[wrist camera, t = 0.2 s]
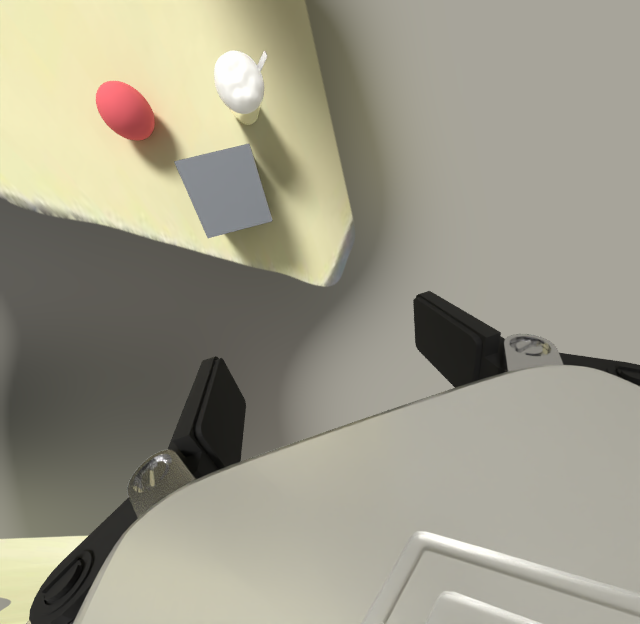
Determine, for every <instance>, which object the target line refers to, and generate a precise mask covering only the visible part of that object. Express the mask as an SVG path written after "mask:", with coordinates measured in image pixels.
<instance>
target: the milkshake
mask: <svg viewBox="0 0 640 624" xmlns="http://www.w3.org/2000/svg"><path fill="white" fill-rule="evenodd" d="M266 59H267V54H266V52H265V50H264V52H263V54H262V56H261V58H260V61H259V63H258V65H256V63H255V62H254V61H253V59H252V58H251V57H249V56H248V55H247V54H245V53H243V52H240V51H229V52H226V53H225V54H223V55H222V56H221V57H220V58H219V59H218V60H217V62H216V65H215V69H214V78H215V86H216V89H217V92H218V94H219V96H220V98H221V99H222V101H223V102H224V103H225V105H226V106H227V107H228V108H229V109H230V110H231V112H232V113H233V115H234V116H235V117H236V118H237V119H238V120H239V121H240V122H241V123H242V124H248V125H251V124H252V123H254V122H255V121H257V118H258V114H259V111H260V106H261V102H262V99H263V95H264V81H263V77H262V74H261V69H262V67H263V65H264V63H265V61H266Z"/></svg>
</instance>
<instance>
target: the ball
mask: <svg viewBox="0 0 640 624" xmlns="http://www.w3.org/2000/svg"><path fill="white" fill-rule="evenodd" d="M96 104H97V108H98V111H99V113H100V115H101V117H102V119H103V120H104V121H105V123H106V124H107V125H108V126H109V127H110V128H111V129H112V130H113V131H114V132H116V133H117V134H119V135H120V136H122V137H124V138H127V139H130V140H144V139H146V138H148V137H149V136H150V135H151V134H152V132H153V130H154V125H155V120H154V115H153V112H152V109H151V107H150V105H149V104H148V102H147V101H146V99H145V98H144V97H143V96H142V95H141V94H140V93H139V92H138V91H137V90H136V89H134V88H133V87H131V86H130V85H128V84H125V83H123V82H119V81H108V82H105V83H103V84H102V85H101V86H100V87H99V89H98V91H97V93H96Z"/></svg>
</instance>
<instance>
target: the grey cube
mask: <svg viewBox="0 0 640 624" xmlns="http://www.w3.org/2000/svg"><path fill="white" fill-rule="evenodd" d="M174 163H175V165H176V167H177V169H178V172H179V174H180V176H181V178H182V181H183V183H184V185H185V187H186V190H187V192H188V194H189V197H190V199H191V201H192V203H193V206H194V208H195V210H196V212H197V215H198V217H199V219H200V221H201V224H202V226H203V228H204V231H205V233H206V235H207V237H208V238H211V237H215V236H218V235H222V234H226V233H230V232H233V231H237V230H241V229H245V228H248V227H252V226H256V225H260V224H263V223H267V222H271V221H272V216H271V213H270V209H269V206H268V203H267V200H266V196H265V193H264V190H263V186H262V183H261V180H260V176H259V173H258V170H257V166H256V163H255V160H254V156H253V153H252V150H251V147H250V145H249V144H245V145H241V146H237V147H233V148H228V149H224V150H220V151H216V152H212V153H208V154H203V155H199V156H195V157H191V158H187V159H182V160H178V161H174Z"/></svg>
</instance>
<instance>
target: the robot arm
mask: <svg viewBox="0 0 640 624" xmlns="http://www.w3.org/2000/svg"><path fill="white" fill-rule="evenodd" d="M414 323H415V343H416V347H417V349H418V350H419V351H420V352H421V353H422V354H423V355H424V356H425V357H426V358H427V359H428V360H429V361H430V363H432V365H433V366H434V367H436V369H437V370H438V371H439V372H440V373H441V374H442V375H443V376H444V377H445V378H446V379H447V380H448V381H449V382H450V383H451V384H452V385H453V386H454V387H455V388H453V389H450V390H448V391H445V392H441V393H438V394H436V395H432V396H429V397H427V398H424V399H421V400H417V401H415V402H412V403H409V404H405V405H403V406H400V407H397V408H394V409H391V410H388V411H385V412H382V413H379V414H376V415H373V416H370V417H367V418H364V419H361V420H358V421H355V422H352V423H350V424H347V425H344V426H341V427H338V428H335V429H332V430H329V431H326V432H323V433H320V434H318V435H315V436H312V437H309V438H306V439H303V440H300V441H297V442H295V443H292V444H289V445H286V446H283V447H280V448H277V449H275V450H272V451H269V452H266V453H263V454H260V455H258V456H255V457H252V458H249V459H246V460H244V461H241V462H240V460H241V449H242V440H243V430H244V420H245V409H246V403H245V399H244V397H243V396H242V394H241V392H240V390H239V388H238V386H237V384H236V383H235V381H234V379H233V377H232V375H231V373H230V371H229V370H228V368H227V366H226V364H225V362H224V360H223V359H222V358H220V359H219V358H218V357H213V358H210V359H206V360H203V361H202V363H201V366H200V368H199V371H198V373H197V376H196V379H195V381H194V384H193V386H192V389H191V391H190V394H189V397H188V399H187V401H186V404H185V406H184V409H183V411H182V414H181V417H180V419H179V422H178V424H177V427H176V429H175V432H174V434H173V437H172V440H171V442H170V445H169V447H168V450H163V451H160V452H158V453H156V454H154V455H152V456H151V457H149V458H148V459H147V460H145V461H144V462H143V463H142V464H141V465H140V466H139V467H138V469H137V470H136V471H135V473H134V474H133V475H132V477H131V479H130V481H129V484H128V487H127V492H128V496H129V498H128V499H127V500H126V501H125V502H123V503H122V504H121V505H120V506H119V507H118V508H117V509H116V510H115V511H114V512H113V513H112V514H111V515H110V516H109V517H108V518H107V519H106V520H105V521H104V522H103V523H102V524H101V525H100V526H98V527H97V528H96V529H95V530H94V531H93V532H92V533H91V534H90V535H89V536H88V537H87V538H86V539H85V540H84V541H83V542H82V543H81V544H80V545H79V546H78V547H77V548H75V549H74V550H73V551H72V552H71V553H70V554H69V555H68V556H67V557H66V558H65V559H64V560H63V561H62V562H61V563H60V564H59V565H58V566H57V567H56V568H55V569H54V570H53V572H52V573H51V574H50V575H49V577H48V578H47V579H46V581H45V582H44V583H43V585H42V586H41V588H40V590H39V591H38V593H37V595H36V597H35V598H34V601H33V604H32V606H31V609H30V616H29V621H28V622H27V623H26V624H640V365H637V364H632V363H627V362H620V361H613V360H606V359H598V358H591V357H585V356H577V355H571V354H564V353H559V352H558V350H557V348H556V346H555V345H554V344H553V343H551V342H550V341H548V340H547V339H544V338H542V337H539V336H535V335H529V334H516V335H511V336H509V337H507V338H506V339H504V338H502V337H501V336H500V335H501V333H500V332H499V331H497V330H495V329H494V328H492V327H490V326H489V325H487V324H485V323H483V322H482V321H480V320H478V319H477V318H475V317H473V316H472V315H470V314H468V313H466V312H464V311H463V310H461V309H460V308H458V307H456V306H454V305H453V304H451V303H449V302H448V301H446V300H444V299H442V298H441V297H439V296H437V295H436V294H434V293H432V292H430V291H428V292H425V293H421V294H418V295H417V296H416V298H415V299H414Z"/></svg>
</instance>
